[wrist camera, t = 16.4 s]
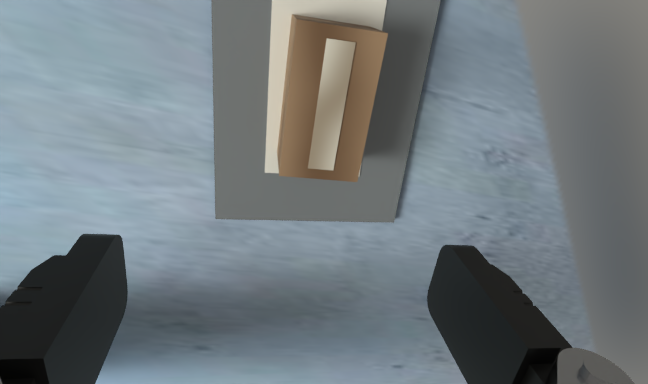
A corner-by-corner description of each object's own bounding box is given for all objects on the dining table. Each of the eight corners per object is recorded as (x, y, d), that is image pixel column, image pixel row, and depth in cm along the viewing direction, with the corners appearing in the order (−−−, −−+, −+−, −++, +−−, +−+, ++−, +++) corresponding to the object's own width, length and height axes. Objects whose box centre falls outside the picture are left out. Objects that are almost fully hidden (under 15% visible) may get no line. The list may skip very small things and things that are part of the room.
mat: (391, 218, 33) (394, 223, 32) (216, 214, 31) (215, 219, 30) (451, -68, 24) (455, -69, 24) (210, -104, 22) (209, -107, 21)
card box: (370, 26, 25) (388, 33, 22) (345, 158, 29) (357, 182, 26) (291, 14, 24) (296, 19, 21) (277, 152, 28) (279, 176, 25)
